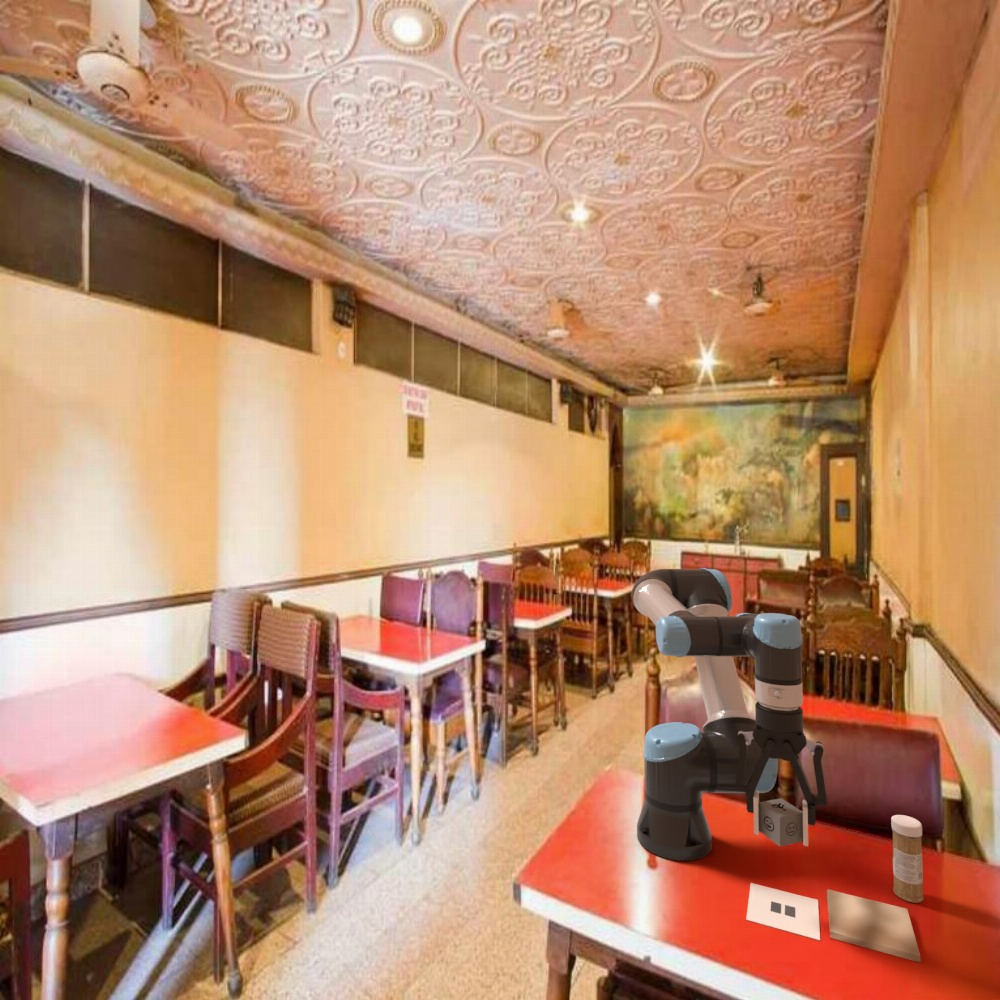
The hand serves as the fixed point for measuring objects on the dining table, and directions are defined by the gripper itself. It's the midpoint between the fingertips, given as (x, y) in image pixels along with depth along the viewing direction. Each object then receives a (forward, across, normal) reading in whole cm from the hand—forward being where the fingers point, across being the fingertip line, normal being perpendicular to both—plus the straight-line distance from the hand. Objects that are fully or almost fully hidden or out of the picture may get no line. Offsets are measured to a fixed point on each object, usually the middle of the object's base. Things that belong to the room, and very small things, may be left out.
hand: (780, 836), depth 102 cm
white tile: (+12, 0, 0) cm, 12 cm away
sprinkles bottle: (+13, +20, +14) cm, 27 cm away
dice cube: (0, 0, 0) cm, 0 cm away
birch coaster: (+12, +13, +2) cm, 18 cm away
